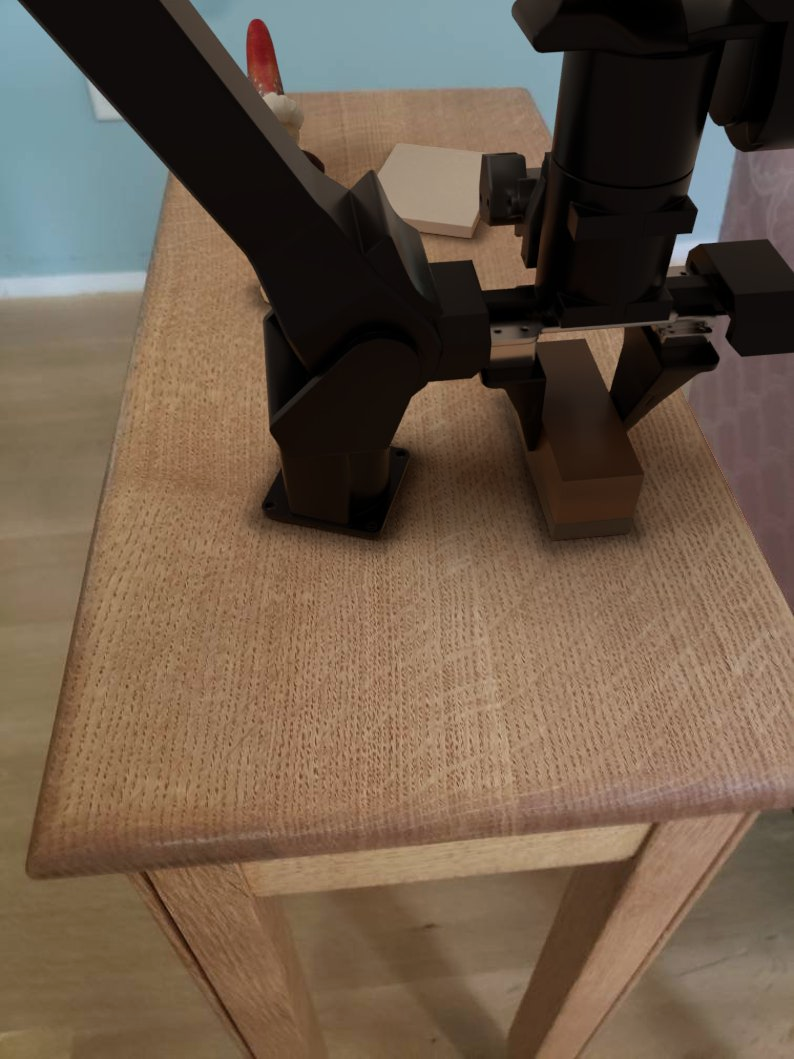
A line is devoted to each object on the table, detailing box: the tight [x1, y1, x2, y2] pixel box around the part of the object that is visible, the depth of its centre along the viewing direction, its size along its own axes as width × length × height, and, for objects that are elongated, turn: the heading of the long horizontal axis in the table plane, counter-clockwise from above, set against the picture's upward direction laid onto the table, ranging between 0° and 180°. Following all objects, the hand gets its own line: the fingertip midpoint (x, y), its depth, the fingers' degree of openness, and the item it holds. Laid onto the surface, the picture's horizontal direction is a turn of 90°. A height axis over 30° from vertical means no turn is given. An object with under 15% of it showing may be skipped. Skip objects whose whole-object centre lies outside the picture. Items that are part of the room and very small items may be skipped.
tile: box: [376, 142, 492, 239], centre depth 67 cm, size 12×9×1 cm
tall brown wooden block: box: [508, 338, 646, 541], centre depth 46 cm, size 11×4×4 cm, turn 7°
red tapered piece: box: [245, 18, 285, 97], centre depth 65 cm, size 3×18×10 cm, turn 10°
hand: (568, 442), depth 46 cm, fingers closed on tall brown wooden block, 4 cm apart
